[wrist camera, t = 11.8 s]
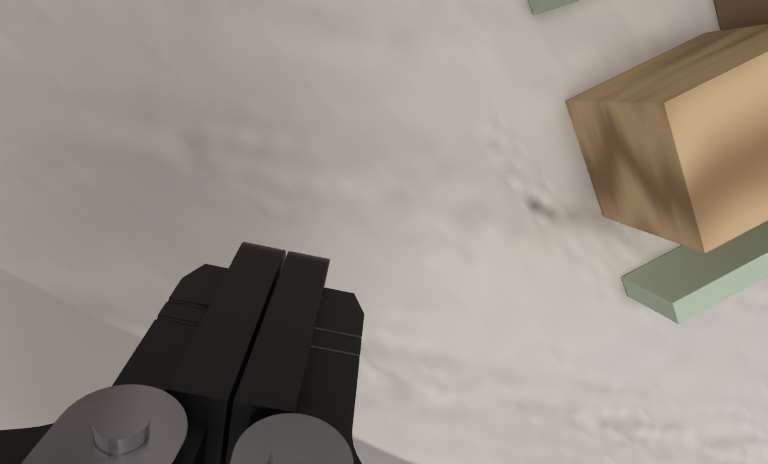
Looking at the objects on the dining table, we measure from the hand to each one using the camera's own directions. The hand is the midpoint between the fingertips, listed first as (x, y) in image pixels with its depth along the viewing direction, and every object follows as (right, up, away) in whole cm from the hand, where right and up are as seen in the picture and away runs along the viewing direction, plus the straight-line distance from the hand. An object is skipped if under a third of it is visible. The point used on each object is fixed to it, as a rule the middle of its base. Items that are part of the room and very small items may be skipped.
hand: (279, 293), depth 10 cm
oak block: (+19, +8, +26) cm, 33 cm away
